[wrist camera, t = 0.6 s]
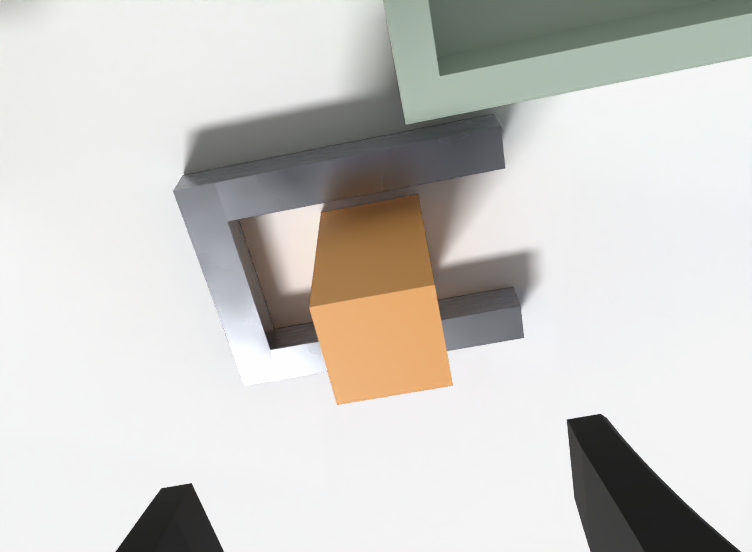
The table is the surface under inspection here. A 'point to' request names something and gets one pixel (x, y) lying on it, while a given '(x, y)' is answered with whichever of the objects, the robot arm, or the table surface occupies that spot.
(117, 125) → the table surface
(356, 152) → the frame
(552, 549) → the table surface
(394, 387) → the pin
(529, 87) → the tray
